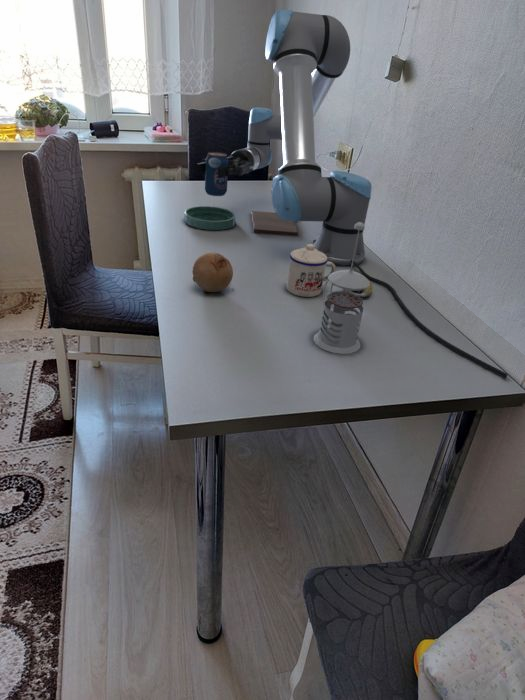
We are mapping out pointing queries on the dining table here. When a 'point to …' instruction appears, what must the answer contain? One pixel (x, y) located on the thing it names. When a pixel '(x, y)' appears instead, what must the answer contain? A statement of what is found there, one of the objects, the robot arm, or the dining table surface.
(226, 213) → the bowl
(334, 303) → the french press
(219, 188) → the soda can
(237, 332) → the dining table surface
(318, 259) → the teacup with lid
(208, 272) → the onion
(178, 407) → the dining table surface
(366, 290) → the pastry
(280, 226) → the board
